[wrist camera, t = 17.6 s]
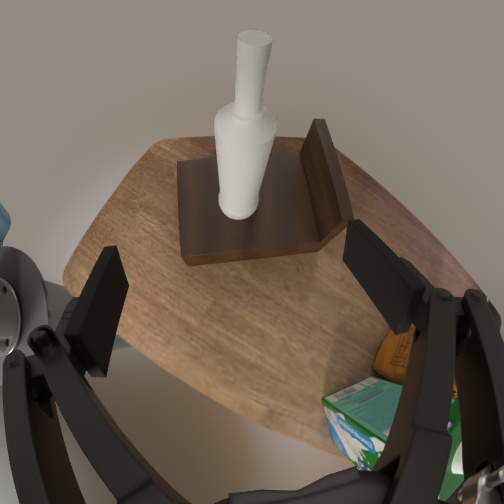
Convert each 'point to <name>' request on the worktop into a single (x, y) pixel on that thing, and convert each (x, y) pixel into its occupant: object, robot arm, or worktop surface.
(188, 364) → the worktop surface
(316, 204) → the shelf
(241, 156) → the bottle
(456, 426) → the milk carton
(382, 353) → the coffee package
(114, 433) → the robot arm
